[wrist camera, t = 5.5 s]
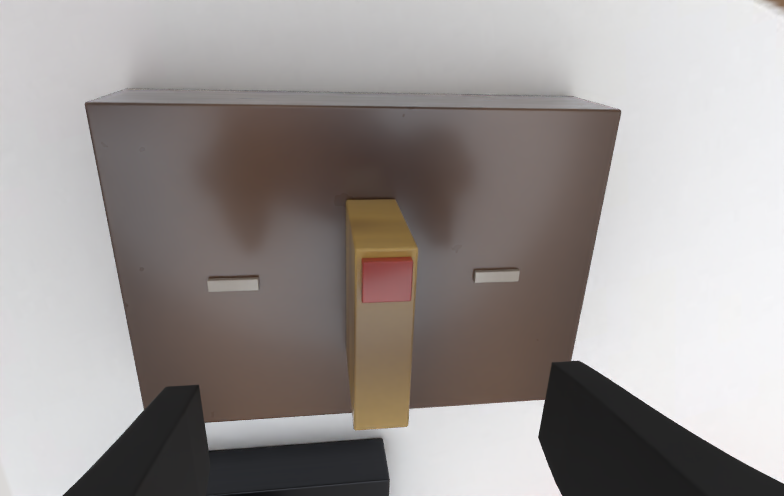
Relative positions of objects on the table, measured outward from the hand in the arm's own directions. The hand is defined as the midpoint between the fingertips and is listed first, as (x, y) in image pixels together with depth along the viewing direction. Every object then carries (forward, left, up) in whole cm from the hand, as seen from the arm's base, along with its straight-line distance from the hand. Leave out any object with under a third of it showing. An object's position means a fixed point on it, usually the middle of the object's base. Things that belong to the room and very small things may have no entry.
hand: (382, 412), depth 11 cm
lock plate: (0, 0, -8) cm, 8 cm away
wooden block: (0, 0, -5) cm, 5 cm away
